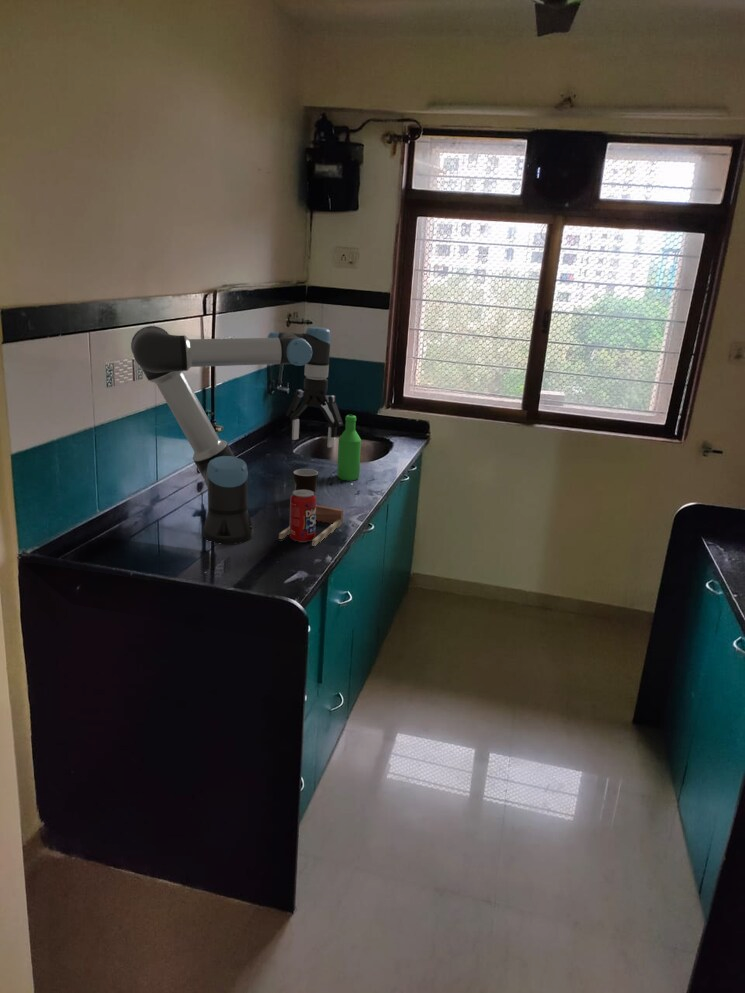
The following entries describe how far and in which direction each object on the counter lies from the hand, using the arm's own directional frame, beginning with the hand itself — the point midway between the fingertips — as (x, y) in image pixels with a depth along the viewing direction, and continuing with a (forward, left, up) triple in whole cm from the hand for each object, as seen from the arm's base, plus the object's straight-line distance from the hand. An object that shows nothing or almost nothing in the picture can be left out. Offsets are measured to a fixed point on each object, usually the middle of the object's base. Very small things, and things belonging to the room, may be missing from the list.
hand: (312, 443), depth 229 cm
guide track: (-10, -12, -25) cm, 29 cm away
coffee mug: (+10, +14, -25) cm, 30 cm away
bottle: (+39, +23, -25) cm, 51 cm away
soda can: (-16, -15, -25) cm, 33 cm away
